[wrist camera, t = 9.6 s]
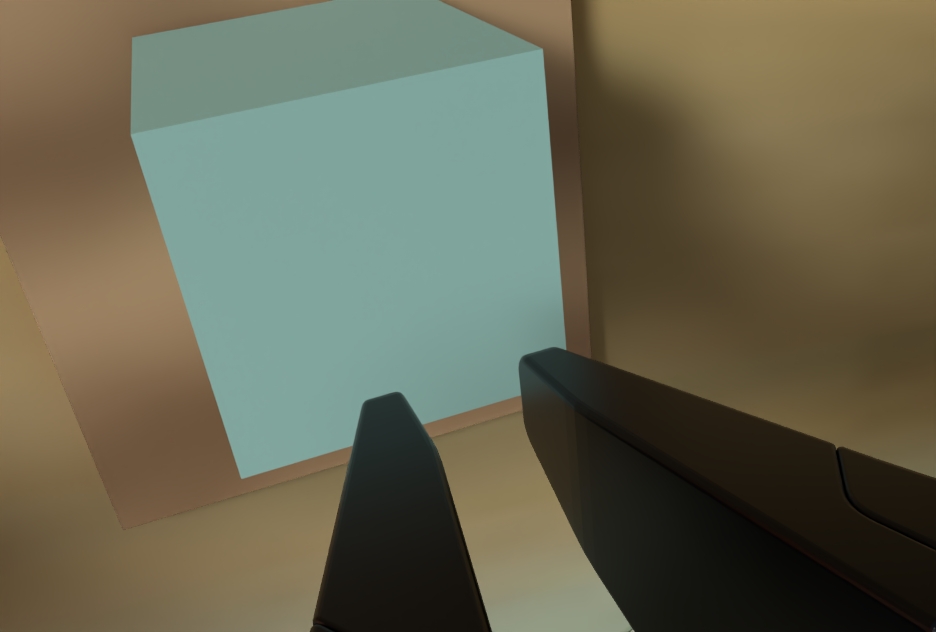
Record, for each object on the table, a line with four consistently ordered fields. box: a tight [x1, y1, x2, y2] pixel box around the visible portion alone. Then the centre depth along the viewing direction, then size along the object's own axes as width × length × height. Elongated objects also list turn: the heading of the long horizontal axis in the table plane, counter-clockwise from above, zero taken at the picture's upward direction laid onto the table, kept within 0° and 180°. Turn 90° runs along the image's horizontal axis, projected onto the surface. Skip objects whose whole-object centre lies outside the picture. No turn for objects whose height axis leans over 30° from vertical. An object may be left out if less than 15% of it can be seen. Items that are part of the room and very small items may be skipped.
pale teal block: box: [131, 0, 566, 479], centre depth 15 cm, size 5×5×7 cm
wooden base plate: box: [0, 0, 591, 530], centre depth 16 cm, size 16×12×7 cm
